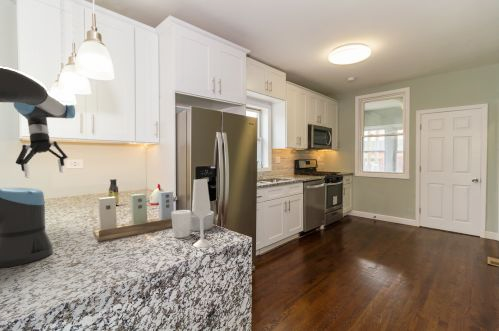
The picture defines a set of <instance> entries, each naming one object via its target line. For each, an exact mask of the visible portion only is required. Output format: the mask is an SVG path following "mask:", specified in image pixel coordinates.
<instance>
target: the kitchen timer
mask: <svg viewBox="0 0 499 331" xmlns="http://www.w3.org/2000/svg"><path fill="white" fill-rule="evenodd" d="M165 191H166V190H164V188H161V184H160V183H158V184H157V188H156V189H154V190H153V191H152V193H151V195H149V203H148V204H151V205H150V206H159V192H165Z"/></svg>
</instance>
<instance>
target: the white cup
mask: <svg viewBox="0 0 499 331" xmlns="http://www.w3.org/2000/svg"><path fill="white" fill-rule="evenodd" d="M191 212H192V210H189V209H177V210H174V211H173V212H171V216H172V227H171V228H172V232H173V238H175V239H182V238H188V237H189V236H191V230H190V228H191Z"/></svg>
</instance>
